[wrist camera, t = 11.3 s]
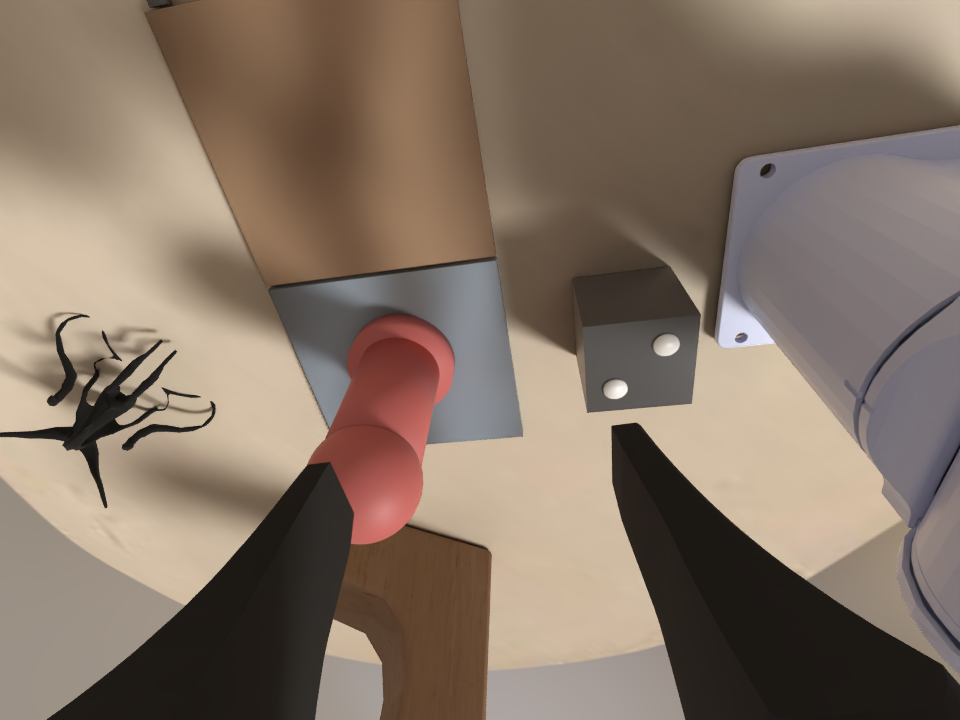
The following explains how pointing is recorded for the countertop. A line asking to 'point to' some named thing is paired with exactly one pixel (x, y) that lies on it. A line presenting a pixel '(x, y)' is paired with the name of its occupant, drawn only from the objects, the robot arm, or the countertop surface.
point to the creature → (102, 410)
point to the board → (354, 180)
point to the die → (635, 339)
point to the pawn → (387, 421)
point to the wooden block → (423, 622)
